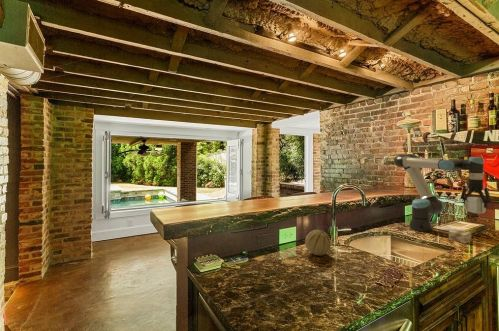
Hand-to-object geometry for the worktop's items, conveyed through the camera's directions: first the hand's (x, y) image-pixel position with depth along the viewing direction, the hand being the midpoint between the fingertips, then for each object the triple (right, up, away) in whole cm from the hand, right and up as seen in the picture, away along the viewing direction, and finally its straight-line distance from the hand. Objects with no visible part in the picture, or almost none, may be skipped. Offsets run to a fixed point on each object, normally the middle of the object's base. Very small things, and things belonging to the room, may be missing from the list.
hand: (474, 210), depth 175 cm
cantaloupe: (-118, -22, -26) cm, 122 cm away
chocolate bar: (-92, -23, -56) cm, 110 cm away
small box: (0, -1, 0) cm, 1 cm away
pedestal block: (-14, -20, -4) cm, 25 cm away
